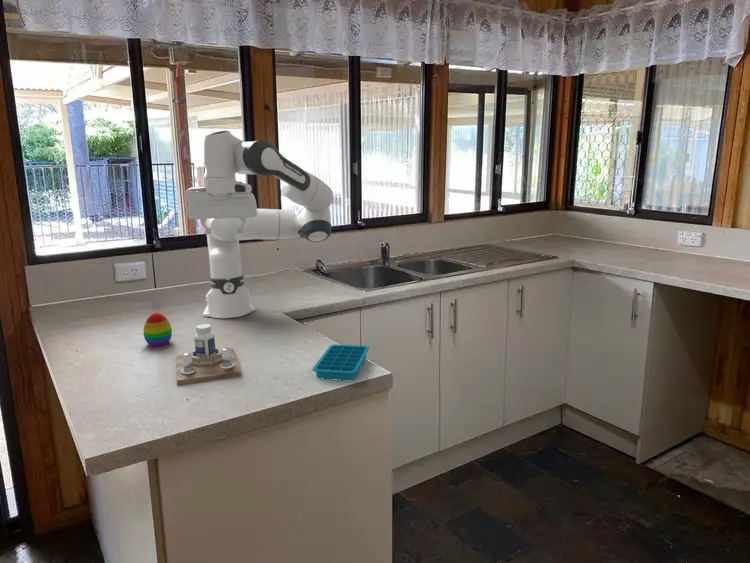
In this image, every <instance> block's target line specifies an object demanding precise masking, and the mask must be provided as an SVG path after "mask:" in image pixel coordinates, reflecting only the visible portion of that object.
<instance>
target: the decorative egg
mask: <svg viewBox="0 0 750 563" xmlns="http://www.w3.org/2000/svg"><path fill="white" fill-rule="evenodd" d="M172 331H173V329H172V326H171V324H170V321H169V320H168V318H167V317H166V316H165V315H163V314H162V313H160V312H153V313H151V314H150V315H149V316H148V317H147V319H146V320H145V323H144V325H143V337H144V340H145V342H146V343H147V344H148V345H149V346H150V347H157V348H158V347H163V346H165V345H168V344H169V342H170V341H171V339H172V335H173V334H172V333H173V332H172Z"/></svg>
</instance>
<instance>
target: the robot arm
mask: <svg viewBox="0 0 750 563" xmlns="http://www.w3.org/2000/svg"><path fill="white" fill-rule="evenodd" d="M202 162H203V165H204V170H205V172H204V185H205V187H204V186H203V187H202V186H201V187H190V188H188V189H186V191H185V192H184V196H185V201H186V202H187V208H186V209H187V212H186V213H187V217H188V218H189V219H190V220H200V224H201V226H202V227H203V228H204V232H205V233H204V234H205V235H206V239H207V249H208V257H209V258H208V259H209V268H210V277H209V287H211V288H210V290H209V291H207V294H206V295H205V301H206V302H207V303H206V307H205V309H204V311H203V313H202V316H203V317H205V318H206V317H211V318H215V319H232V318H239V317H243V316H245V315H247V314H250V313H253V312H255V311H256V307H255V306H253V305H252V304H251V301H250V291H249V289H248V288H247V287H246V286H245V285H244V284H245V278H244V274H243V268H242V255H241V248H240V241H247V240H249V241H250V240H291V239H299V238H302V239H305V240H307V241H309V242H311V243H312V242H313V243H320V242H323V241H326V240H327V239H328V238H329V237H330V236H331V235H332V234H331V233H332V223H331V213H330V212H331V211H330V206H331V205H332V203H333V200H334V192H333V190H332V188H331V187H330V186H329V185H328V184H327V183H325V181H323V180H321V179H320V178H319V177H317V176H316V175H314V174H312V173H310V172H308V171H307V170H304V169H303V168H301V166H299V165H297V164H296V163H294V162H292V161H290V160H289V159H287V158H286V157H285V156H283V154H282V153H280V151H279V150H278V148H277V147H276V146H275V145H274V144H273V143H272V142H270V141H268V140H267V139H266V140H265V139H258V140H253V141H252V140H251V141H244V140H242V139H240V138H238V137H236V136H234V135H233V134H232V133H231V131H230V130H226V129H221V130H214V131H209V132H207V133H206V134H204V136H203V139H202ZM236 174H237V175H258V176H273V177H275V178H277V179H278V180H281V181H282V187H281V188H282V192H283V195H284V196H285V197H286V198H288V199H289V200H290V201H292V202H293V203H295V204H297V205H298V206H297V208H298V210H296V211H294V210H289V209H288V210H287V209H277V208H273V209H272V208H258V207H257V206H258V205H257V200H256V198H255V197H256V196H255V195H254V193H252V186H251V184H249V183H245V182H243V181H239V180H238V181H237V180H236V177H237V176H236Z"/></svg>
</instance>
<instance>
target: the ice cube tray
mask: <svg viewBox="0 0 750 563" xmlns="http://www.w3.org/2000/svg"><path fill="white" fill-rule="evenodd" d="M369 350H370V347H369V346H368V345H353V344H336V343H335V344H331V345H329V346H328V347H327V349H326V350H325V351H324V352H323V354H322V355H321V357H320V358H319V359H318V361H317V362H316V364H315V365H314V366H313V367H312V371H313V372H315V373H316V379H318V378H323V379H322V380H326V379H337V380H336V381H344V380H352V381H353V379H354V378H355V379H356V377H357V375H358V373H359V371H360V370H361V368H360V367H362V366H363V364H364V362H365V360H366V358H367V353H368V351H369ZM361 365H362V366H361ZM356 374H357V375H356ZM355 376H356V377H355ZM339 379H340V380H339ZM355 379H354V380H355Z"/></svg>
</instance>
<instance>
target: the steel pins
mask: <svg viewBox="0 0 750 563" xmlns="http://www.w3.org/2000/svg"><path fill="white" fill-rule="evenodd" d="M221 348H222V349H221V354H222V364H221V365H220V369H231V368H233V367H234V366H235V364H234V363H231V351H230V348H231V347H221ZM189 352H190V351H189ZM189 352H184V353H181V354H182V360H183V369H182V370H181V371H180V372H181V374H183V375H189V374H193V373H195V372H196V368H193V363H192V353H189Z"/></svg>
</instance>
